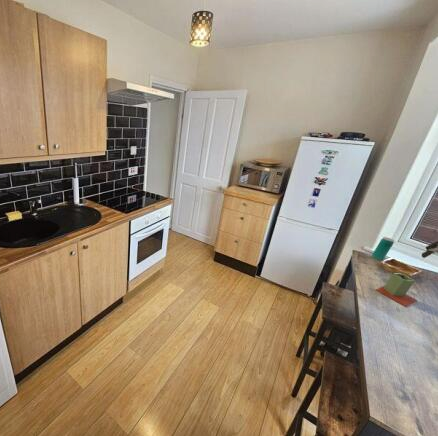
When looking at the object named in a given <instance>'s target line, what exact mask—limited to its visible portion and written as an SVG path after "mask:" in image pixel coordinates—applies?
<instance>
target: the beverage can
mask: <svg viewBox="0 0 438 436" xmlns="http://www.w3.org/2000/svg"><path fill="white" fill-rule="evenodd" d="M394 243H395V240H394V239H393V238H390V237H386V236H384V237H382V238H381V239H380V241H379V243H378V244H377V245H376V247H375V249H374V251H373V253H372V254H371V258H373V259H375V260H377V261H380V262H381V261H384V260H385V258H386V256H387V255H388V253H389V252H390V250H391V248H392V247H393V245H394Z"/></svg>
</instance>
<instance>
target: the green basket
mask: <svg viewBox="0 0 438 436" xmlns="http://www.w3.org/2000/svg"><path fill="white" fill-rule="evenodd" d="M415 282H416V280H415V279H413V278H412V279H411V278H409V277H408V276H406V275H405V274H399V273H393V272H392V274H391V275H390V277H389V279H388V280H387V281H386V283H385V284H384V285H383V286H384V287H383V286H382V287H383V288H384V289H385V290H386V291H387V292H389V293H390V294H391V295H393V296H403V297H404V295H405V294H406V295H407V293H408V291H409V290H410V289H411V287H412V286H413V285H414V283H415Z"/></svg>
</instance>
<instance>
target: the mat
mask: <svg viewBox="0 0 438 436" xmlns="http://www.w3.org/2000/svg"><path fill="white" fill-rule="evenodd" d="M384 286H385V285H383V286H381V287H379V288H375V291H376V292H378V293H379V294H382V295H383V296H384V297H387V298H389V299H390V300H392V301H394V302H396V303H398V304H399V305H401V306H403V307H404V308H406V307H408V306H410V305H412V304H414V303H416V302H417V301H418V299H417V298H414V297H412V296H411V295H409V294H407V293H406V294H405V295H404V297H403V296H393V295H391V294H390V293H389V292H387V291H386V290H385V289H384V288H383V287H384Z"/></svg>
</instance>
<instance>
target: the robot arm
mask: <svg viewBox="0 0 438 436" xmlns="http://www.w3.org/2000/svg"><path fill="white" fill-rule="evenodd" d="M425 250H426V251H424V252H423V253H421V258H423V259H425V258H428V257H429V256H431V255H433V254H436V255H438V240H437V241H434V242H432V243H430V244H428V245H426V246H425Z"/></svg>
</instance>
